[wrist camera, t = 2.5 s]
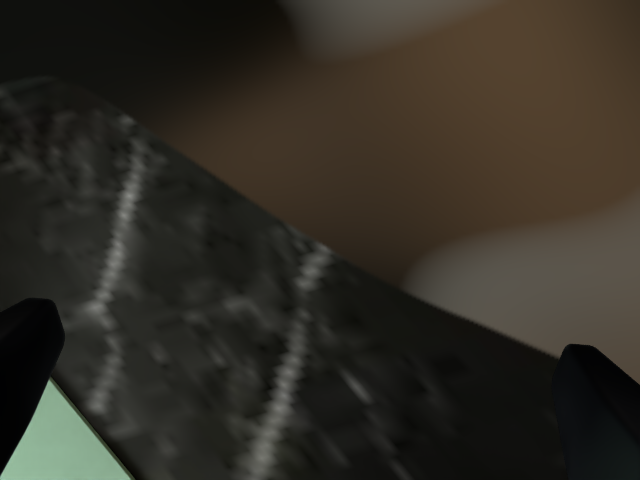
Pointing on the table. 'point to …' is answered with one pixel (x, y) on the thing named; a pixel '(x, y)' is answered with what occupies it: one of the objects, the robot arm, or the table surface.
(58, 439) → the green book
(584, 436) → the robot arm
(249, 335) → the table surface
